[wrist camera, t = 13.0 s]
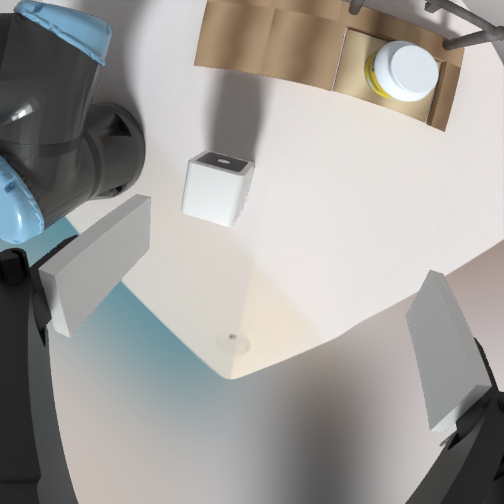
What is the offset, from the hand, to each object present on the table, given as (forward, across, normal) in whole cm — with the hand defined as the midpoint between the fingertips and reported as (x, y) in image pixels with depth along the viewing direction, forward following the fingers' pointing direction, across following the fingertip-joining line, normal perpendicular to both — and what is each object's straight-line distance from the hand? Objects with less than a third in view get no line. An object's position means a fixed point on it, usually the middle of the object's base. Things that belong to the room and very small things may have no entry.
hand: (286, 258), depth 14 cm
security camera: (+29, -9, -6) cm, 31 cm away
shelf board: (+29, 0, +14) cm, 32 cm away
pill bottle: (+28, +8, +12) cm, 32 cm away
